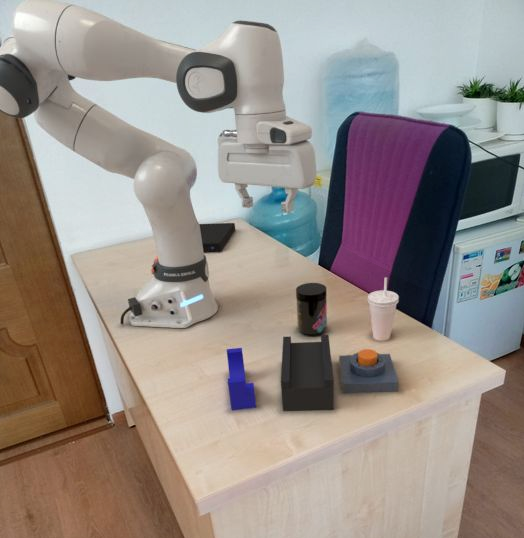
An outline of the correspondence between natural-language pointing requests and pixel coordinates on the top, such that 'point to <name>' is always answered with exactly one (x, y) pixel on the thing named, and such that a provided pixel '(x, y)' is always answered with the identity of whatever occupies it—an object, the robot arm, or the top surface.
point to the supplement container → (311, 309)
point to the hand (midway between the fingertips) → (267, 209)
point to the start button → (367, 357)
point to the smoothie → (382, 312)
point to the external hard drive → (216, 235)
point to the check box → (367, 375)
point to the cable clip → (239, 382)
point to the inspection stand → (307, 375)
